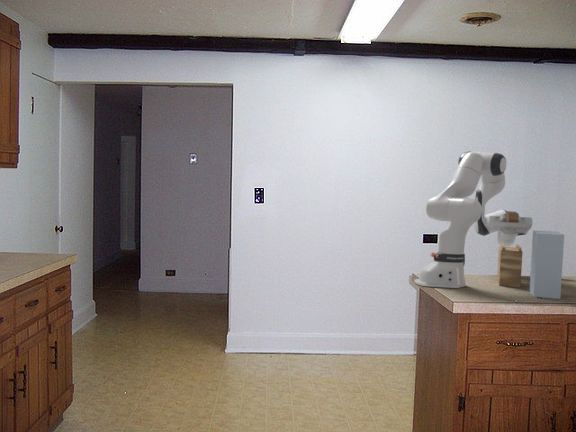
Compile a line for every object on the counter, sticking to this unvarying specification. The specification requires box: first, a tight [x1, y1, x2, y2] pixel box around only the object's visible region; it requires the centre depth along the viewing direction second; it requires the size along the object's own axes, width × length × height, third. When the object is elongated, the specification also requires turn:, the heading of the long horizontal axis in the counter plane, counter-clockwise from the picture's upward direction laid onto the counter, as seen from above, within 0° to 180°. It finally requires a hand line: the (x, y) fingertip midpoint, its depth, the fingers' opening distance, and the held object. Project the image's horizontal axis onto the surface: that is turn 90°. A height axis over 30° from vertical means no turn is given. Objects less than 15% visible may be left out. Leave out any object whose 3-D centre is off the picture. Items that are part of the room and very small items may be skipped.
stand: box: [528, 230, 565, 300], centre depth 250 cm, size 16×10×26 cm, turn 164°
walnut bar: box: [506, 210, 520, 223], centre depth 276 cm, size 20×4×4 cm, turn 164°
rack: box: [496, 244, 524, 288], centre depth 276 cm, size 16×9×18 cm, turn 164°
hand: (510, 215), depth 282 cm, fingers closed on walnut bar, 4 cm apart
